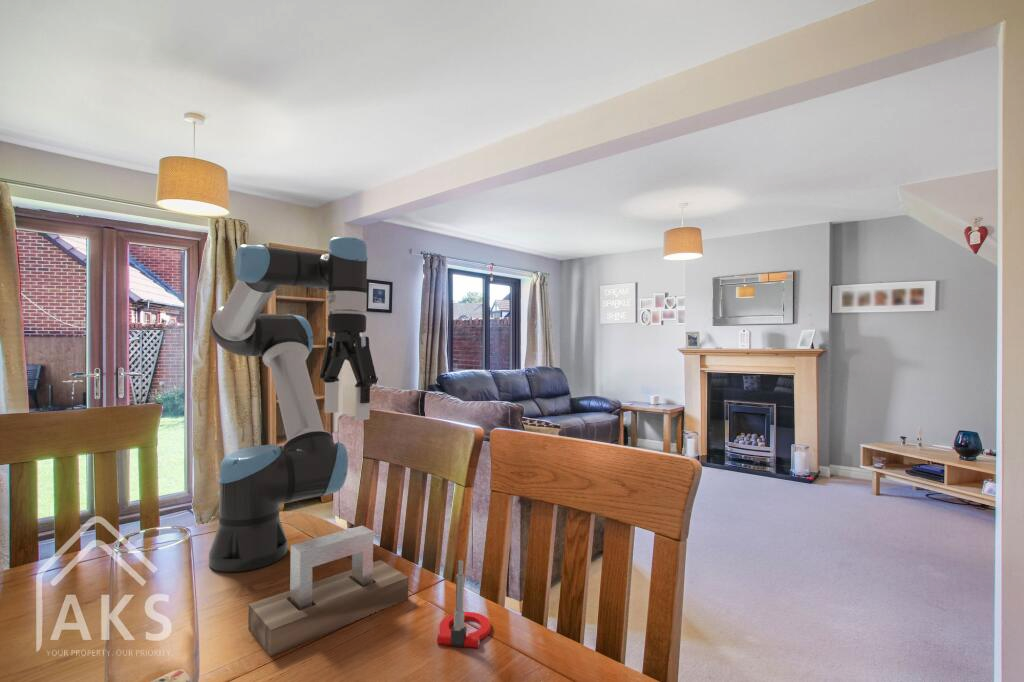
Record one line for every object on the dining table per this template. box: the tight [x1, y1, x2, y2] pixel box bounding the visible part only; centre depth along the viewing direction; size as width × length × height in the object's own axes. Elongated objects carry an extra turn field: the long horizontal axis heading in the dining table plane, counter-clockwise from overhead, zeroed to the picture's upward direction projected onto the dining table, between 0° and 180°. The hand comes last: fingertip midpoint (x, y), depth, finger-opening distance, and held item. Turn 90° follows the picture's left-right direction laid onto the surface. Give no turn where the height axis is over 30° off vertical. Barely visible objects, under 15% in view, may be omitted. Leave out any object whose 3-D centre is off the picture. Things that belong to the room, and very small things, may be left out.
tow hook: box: [436, 559, 492, 649], centre depth 81 cm, size 8×13×9 cm
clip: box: [289, 525, 374, 611], centre depth 86 cm, size 4×13×13 cm, turn 135°
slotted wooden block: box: [247, 559, 409, 657], centre depth 86 cm, size 10×24×4 cm, turn 135°
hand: (346, 416), depth 102 cm, fingers open, 13 cm apart
